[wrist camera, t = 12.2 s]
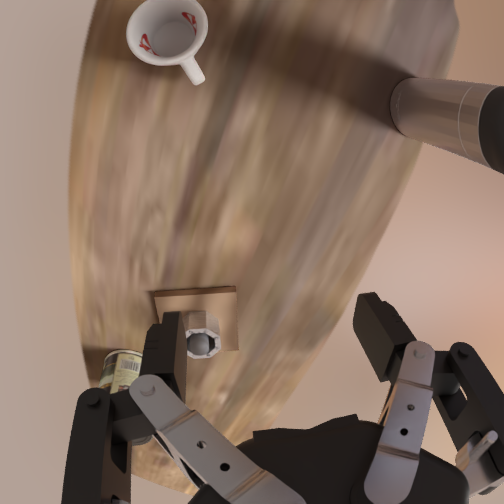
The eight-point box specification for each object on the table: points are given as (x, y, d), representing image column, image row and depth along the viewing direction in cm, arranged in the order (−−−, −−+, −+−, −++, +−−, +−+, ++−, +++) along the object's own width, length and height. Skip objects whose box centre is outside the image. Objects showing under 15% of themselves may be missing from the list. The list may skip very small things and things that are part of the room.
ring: (217, 309, 47) (219, 327, 44) (220, 338, 50) (222, 356, 46) (177, 312, 46) (176, 330, 43) (183, 341, 49) (182, 359, 46)
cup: (231, 69, 33) (237, 62, 26) (172, 102, 34) (163, 103, 27) (188, 0, 28) (184, -21, 21) (129, 34, 29) (111, 20, 22)
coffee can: (116, 386, 55) (106, 445, 43) (95, 351, 50) (78, 414, 38) (164, 383, 56) (161, 445, 44) (148, 346, 51) (139, 413, 39)
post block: (235, 286, 47) (240, 313, 42) (237, 344, 53) (242, 372, 47) (155, 291, 46) (149, 319, 40) (167, 348, 52) (165, 377, 46)
